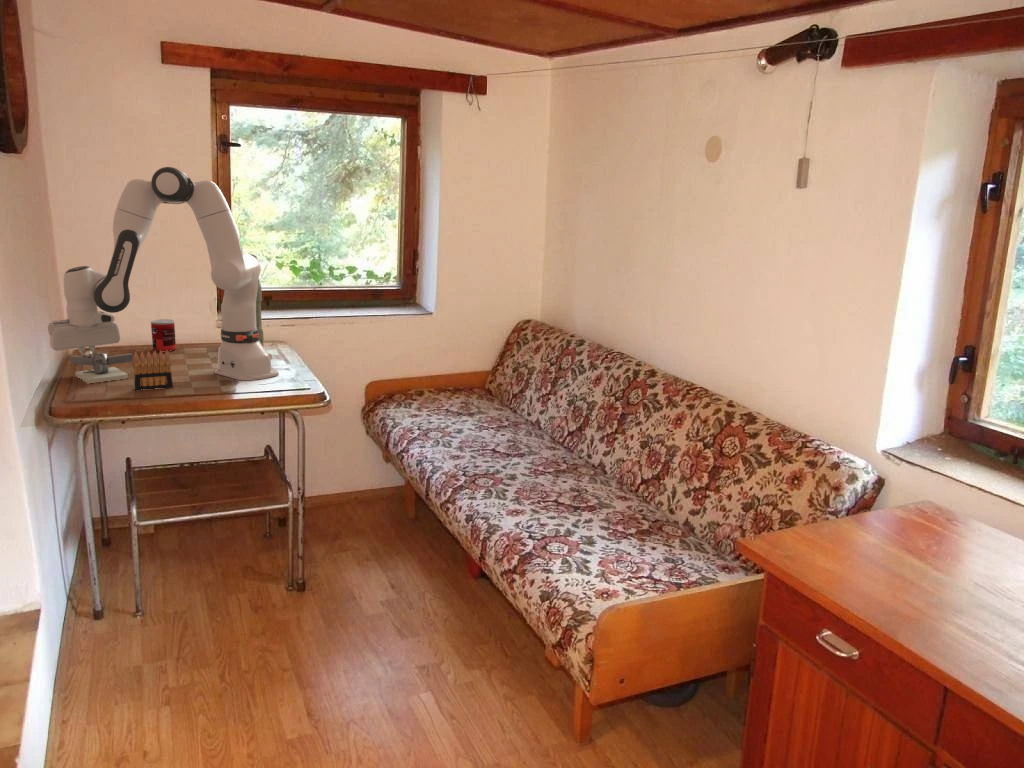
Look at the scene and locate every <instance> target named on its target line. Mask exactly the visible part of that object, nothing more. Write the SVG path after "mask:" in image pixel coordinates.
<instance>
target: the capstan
mask: <svg viewBox="0 0 1024 768" xmlns="http://www.w3.org/2000/svg"><path fill="white" fill-rule="evenodd" d="M84 353H85V356H83V355H76V354H74V355H70V356H69V358H70V364H71V365H83V366H93V370H94V373H97V374H103V373H108V368H109V366H110V365H116V364H125V363H130V362H134V353H130V352H129V353H124V354H122V353H121V354H115V355H109V356H108V353H107V352H94V353H93V354H92V352H91V351H90V349H89V350H85V351H84ZM91 356H93V357H91Z"/></svg>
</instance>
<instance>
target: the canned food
mask: <svg viewBox="0 0 1024 768" xmlns="http://www.w3.org/2000/svg"><path fill="white" fill-rule="evenodd" d="M175 326H176V325H175V320H173V319H168V318H165V319H164V318H161V319H153V320H150V327H151V329H150V331H151V341H152V349H154V350H156V351H160V350H161V351H166V350H168V351H170V350H174V349H175V350H176V349H177V341H176V329H175ZM154 350H153V351H154ZM156 351H155V352H156Z"/></svg>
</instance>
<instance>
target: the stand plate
mask: <svg viewBox="0 0 1024 768" xmlns="http://www.w3.org/2000/svg"><path fill="white" fill-rule="evenodd" d="M76 376H77V377H78V379H79V378H80V379H79V380H81V379H82V380H83V382H84V381H85V382H87V383H94V384H96V383H95V382H101V383H104V382H103V381H108V382H112V381H111V380H116V381H121V380H120V379H123V380H127V379H126V378H128V379H129V373H126V372H125V371H123V370H121V369H119V368H117V367H116V366H111V367H108V373H103V374H97V373H94V369H88V370H87V369H85V370H80V371H75V377H76ZM77 377H76V378H77ZM82 380H81V381H82ZM85 382H84V383H85ZM87 383H86V384H87Z"/></svg>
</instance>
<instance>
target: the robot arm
mask: <svg viewBox="0 0 1024 768" xmlns="http://www.w3.org/2000/svg"><path fill="white" fill-rule="evenodd" d="M184 203H186V204H187V205H188V206H189V207H190V208H191V210H192V213H193V214H194V217H195V219H196V222H197V223H198V227H199V229H200V231H201V233H202V236H203V238H204V241H205V245H206V248H207V253H208V258H209V262H210V267H211V271H210V277H211V280H212V282H213V284H214V285H215V286H216V287H217V288H219V289H221V290H223V291H224V294H223V298H222V303H221V305H220V310H221V312H220V313H221V330H220V340H221V344H220V346H218V348H217V368H215V369H214V370H213V372H214V374H217V375H220V376H224V377H228V378H230V379H231V378H232V379H235V380H237V381H238V380H239V381H253V380H262V379H267V378H268V379H269V378H273V377H275V376H278V375H280V373H279V371H278V370H277V369H276V368H274V367H273V366H272V362H271V361H272V359H273V358H272V353H271V352H269V353H268V352H267V350H266V348H265V346H264V345H263V346H262V344H261V343H260V341H259V340H260V336H259V335H260V334H259V332H258V329H257V328H256V298H257V291H258V280H260V275H261V270H262V268H261V267H262V266H261V264H260V262H259V260H257V259H258V258H257V259H256V258H255V257H253V256H251V255H249V254H248V253H245V252H243V251H242V247H241V241H240V231H239V228H238V226H237V222H236V220H235V218H234V216H233V213H232V211H231V209H230V206H229V204H228V202H227V200H226V197H225V196H224V194H223V192H222V190H221V189H220V188H219V186H218V185H217V184H216V183H215V182H214V181H212V180H199V181H193V180H192V179H191V177H190V176H189V175H187V173H185V172H184V171H182V170H181V169H178V168H176V167H172V166H165V167H161V168H159V169H157V170H156V171H155V172H154V173H153V175H152V177H151V180H149V181H148V180H145V179H139V178H135V179H131V180H129V181H128V182H127V184H126V185H125V187H124V188H123V191H122V192H121V195H120V197H119V199H118V202H117V205H116V208H115V211H114V215H113V220H112V233H113V240H114V241H113V242H114V243H113V245H114V246H113V251H112V256H111V260H110V263H109V266H108V270H107V273H104V272H100V271H97V270H96V269H94V268H91V266H88V265H82V266H81V265H80V266H76V267H72V268H69V269H68V270H66V271H65V273H64V274H63V294H64V295H63V296H64V298H65V301H66V307H65V309H66V319H61V320H53V321H52V322H49V323H48V325H47V331H48V334H49V346H50V348H51V349H53V350H54V351H63V350H65V351H66V350H71V349H77V350H78V351H79V353H80V354H81V356H85V351H86V349H85V348H87V347H88V349H89V351H91V352H92V356H91V357H93V354H94V353H95V351H96V346H104V345H113V344H119V342H120V341H121V335H120V329H119V327H118V325H117V323H116V322H115V320H116V318H115V315H113V313H119V312H121V311H123V310H125V309H126V308H127V307H128V306H129V304H130V300H131V293H130V289H129V280H130V276H131V274H132V270H133V267H134V262H135V259H136V257H137V254H138V253H139V250H140V248H141V246H142V245H143V243H144V241H145V239H147V238H146V237H147V236H148V234H149V232H150V230H151V226H152V225H153V221H154V218H155V215H156V211H157V209H158V207H159V206H160V205H161V204H168V205H169V204H171V205H181V204H184ZM98 308H99V309H100V310H102V311H99V310H98Z"/></svg>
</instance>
